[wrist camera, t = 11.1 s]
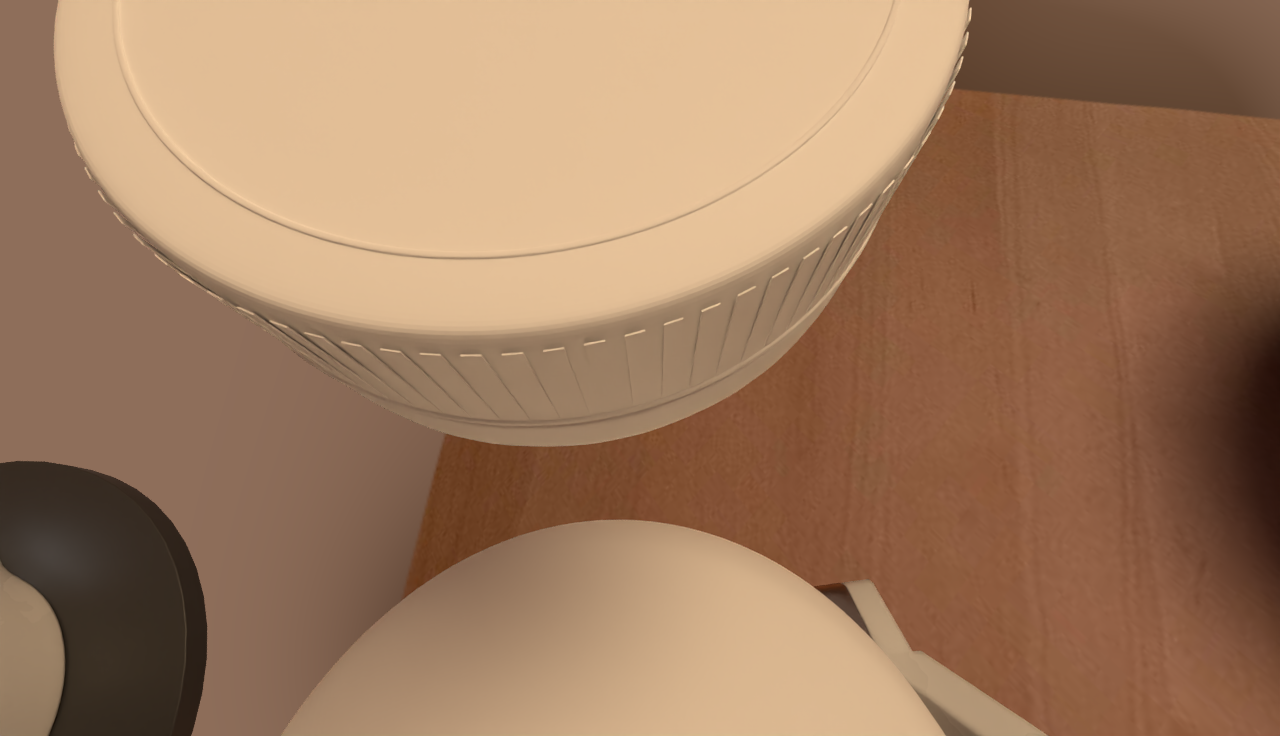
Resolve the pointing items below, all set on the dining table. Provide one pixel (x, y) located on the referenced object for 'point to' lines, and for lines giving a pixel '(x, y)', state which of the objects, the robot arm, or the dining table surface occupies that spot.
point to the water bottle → (537, 297)
